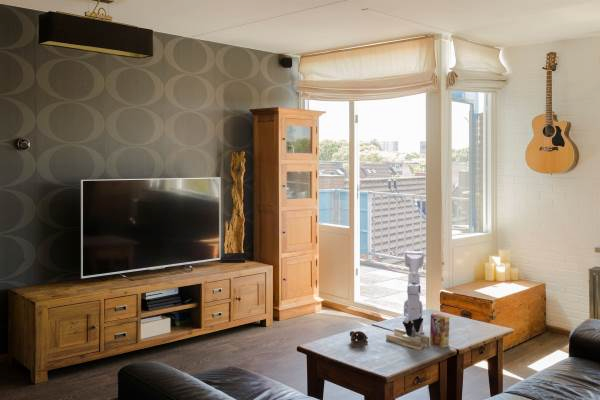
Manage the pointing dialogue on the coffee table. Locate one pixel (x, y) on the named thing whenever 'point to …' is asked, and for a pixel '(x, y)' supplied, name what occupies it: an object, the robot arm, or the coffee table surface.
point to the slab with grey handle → (412, 336)
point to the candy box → (439, 330)
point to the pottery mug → (358, 338)
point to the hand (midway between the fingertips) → (412, 333)
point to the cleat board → (399, 340)
